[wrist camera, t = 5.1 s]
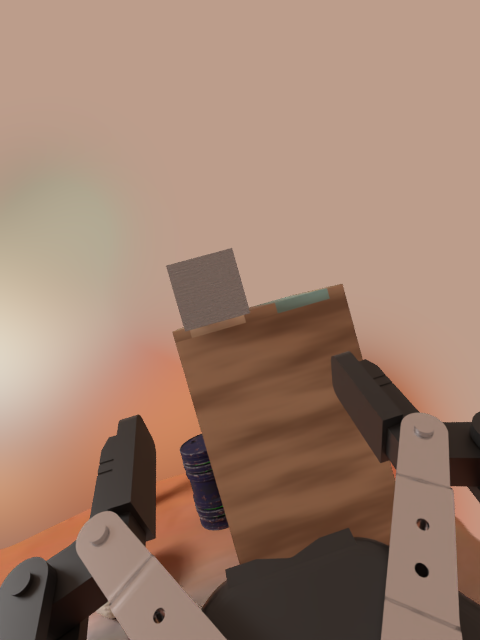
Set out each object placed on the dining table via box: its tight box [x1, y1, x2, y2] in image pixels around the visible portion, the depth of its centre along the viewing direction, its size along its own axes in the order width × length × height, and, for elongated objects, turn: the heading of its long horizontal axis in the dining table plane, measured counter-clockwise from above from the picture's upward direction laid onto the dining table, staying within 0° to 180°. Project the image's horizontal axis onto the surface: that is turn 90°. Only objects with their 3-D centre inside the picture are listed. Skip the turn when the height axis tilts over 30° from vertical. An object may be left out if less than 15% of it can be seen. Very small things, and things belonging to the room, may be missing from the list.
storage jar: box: [180, 434, 229, 530], centre depth 66 cm, size 10×10×15 cm
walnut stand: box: [173, 284, 395, 565], centre depth 40 cm, size 18×16×38 cm
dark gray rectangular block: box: [166, 248, 250, 331], centre depth 34 cm, size 28×4×4 cm, turn 5°
